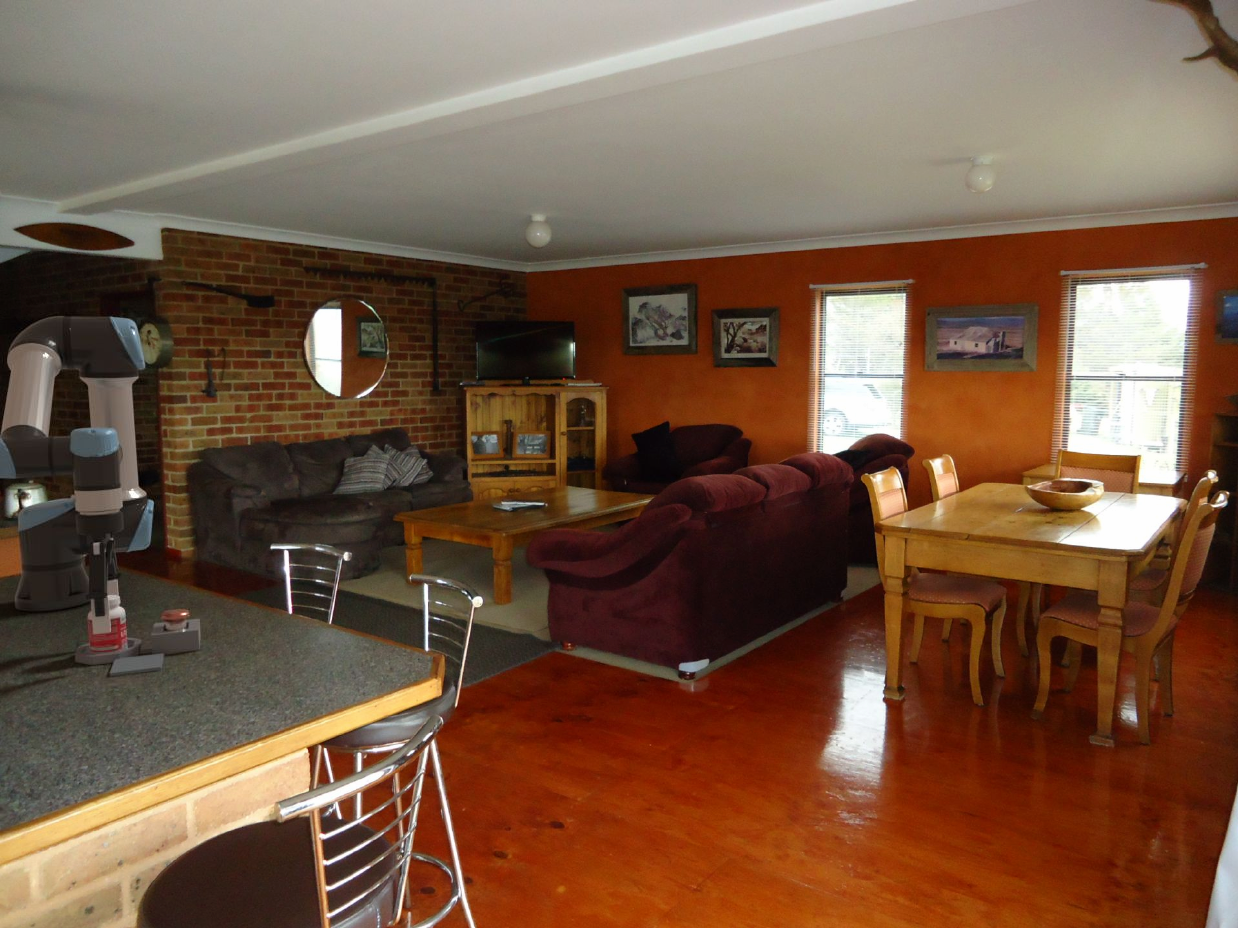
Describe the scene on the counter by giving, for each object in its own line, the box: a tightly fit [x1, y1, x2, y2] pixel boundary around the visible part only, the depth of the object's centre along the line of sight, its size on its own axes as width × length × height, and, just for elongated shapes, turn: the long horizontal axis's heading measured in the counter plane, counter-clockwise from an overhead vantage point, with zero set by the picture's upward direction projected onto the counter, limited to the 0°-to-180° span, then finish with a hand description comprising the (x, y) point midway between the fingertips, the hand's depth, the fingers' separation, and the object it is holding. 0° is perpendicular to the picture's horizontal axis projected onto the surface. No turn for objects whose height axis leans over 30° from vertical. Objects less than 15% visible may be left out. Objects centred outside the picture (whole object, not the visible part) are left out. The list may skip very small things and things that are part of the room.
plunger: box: [160, 608, 190, 631], centre depth 168 cm, size 5×5×6 cm
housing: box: [74, 618, 202, 666], centre depth 166 cm, size 10×21×4 cm, turn 114°
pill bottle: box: [87, 594, 128, 655], centre depth 163 cm, size 6×6×11 cm
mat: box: [109, 653, 165, 677], centre depth 158 cm, size 8×8×1 cm
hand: (107, 622), depth 163 cm, fingers open, 13 cm apart
